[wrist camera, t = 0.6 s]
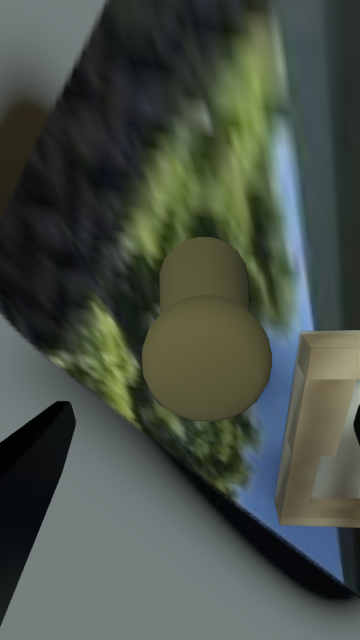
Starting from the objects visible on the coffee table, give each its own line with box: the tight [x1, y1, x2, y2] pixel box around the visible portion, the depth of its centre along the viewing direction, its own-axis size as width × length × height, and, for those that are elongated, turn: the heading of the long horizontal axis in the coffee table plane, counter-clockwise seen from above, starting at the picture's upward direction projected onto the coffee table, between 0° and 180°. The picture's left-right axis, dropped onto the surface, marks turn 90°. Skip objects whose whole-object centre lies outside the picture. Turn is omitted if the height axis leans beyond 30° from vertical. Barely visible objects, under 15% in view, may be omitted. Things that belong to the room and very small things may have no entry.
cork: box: [142, 237, 272, 422], centre depth 16 cm, size 6×6×11 cm
